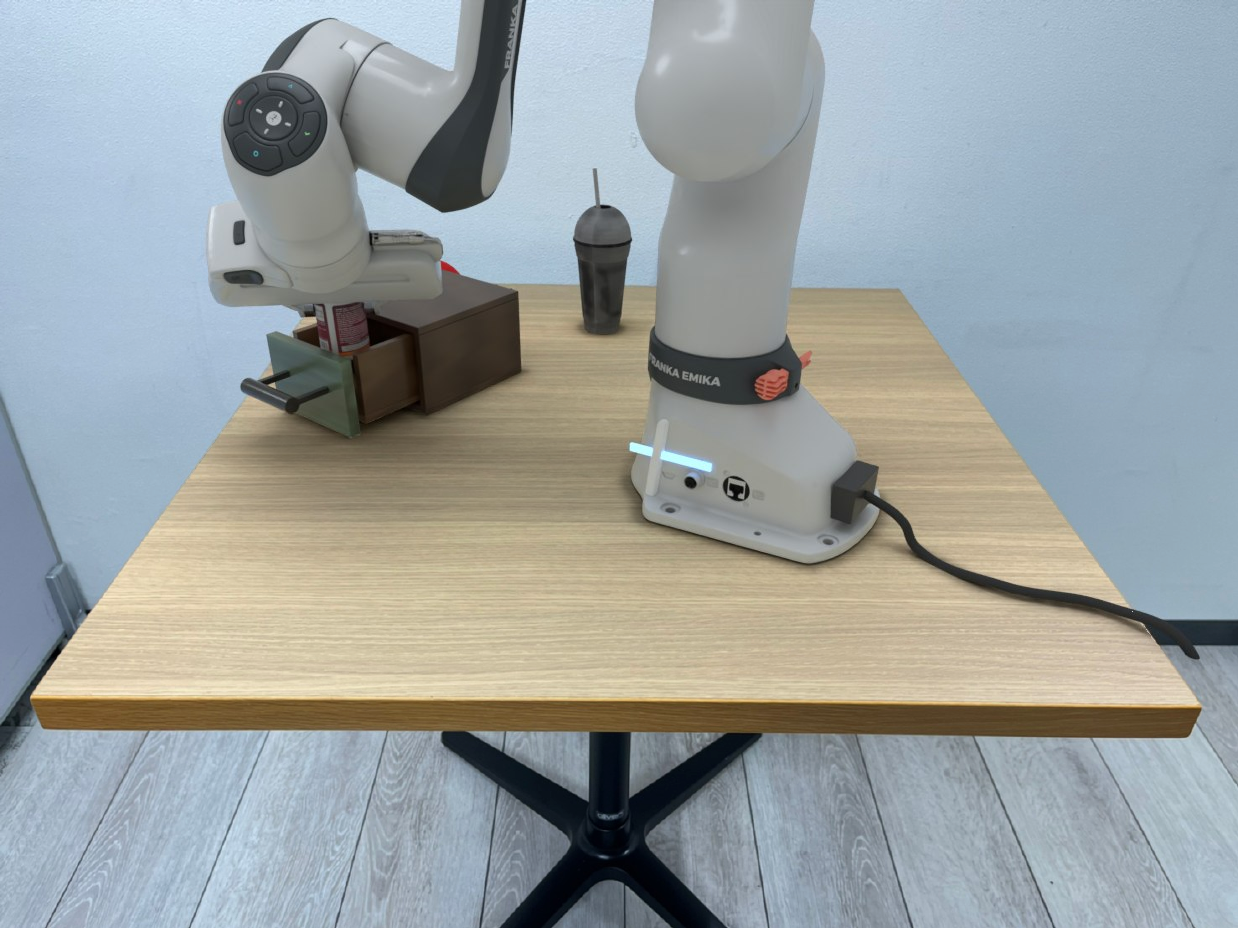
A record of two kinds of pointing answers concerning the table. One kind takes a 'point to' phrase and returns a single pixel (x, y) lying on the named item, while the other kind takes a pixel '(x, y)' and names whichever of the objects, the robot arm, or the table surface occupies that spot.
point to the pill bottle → (342, 327)
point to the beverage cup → (602, 264)
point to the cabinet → (459, 338)
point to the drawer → (339, 377)
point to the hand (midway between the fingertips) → (340, 309)
